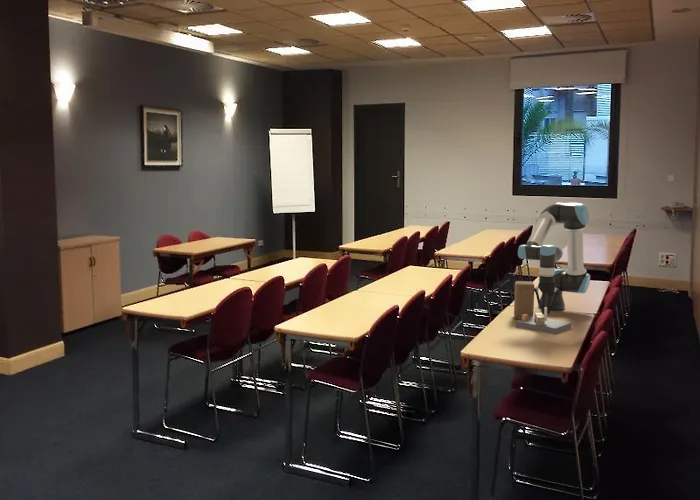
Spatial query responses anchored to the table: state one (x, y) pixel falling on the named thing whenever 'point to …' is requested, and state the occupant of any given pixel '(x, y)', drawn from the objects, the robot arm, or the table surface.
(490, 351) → the table surface
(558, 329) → the stool seat
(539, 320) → the folding leg
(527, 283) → the wooden block
